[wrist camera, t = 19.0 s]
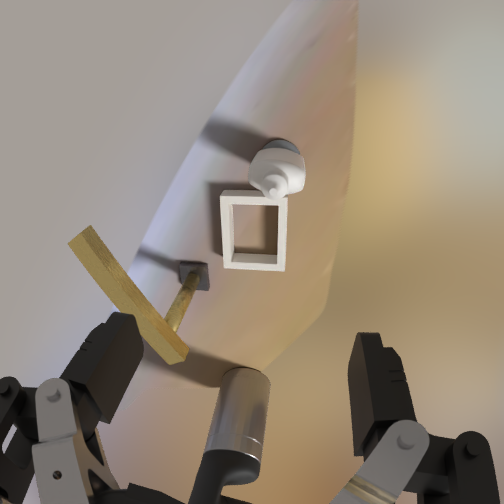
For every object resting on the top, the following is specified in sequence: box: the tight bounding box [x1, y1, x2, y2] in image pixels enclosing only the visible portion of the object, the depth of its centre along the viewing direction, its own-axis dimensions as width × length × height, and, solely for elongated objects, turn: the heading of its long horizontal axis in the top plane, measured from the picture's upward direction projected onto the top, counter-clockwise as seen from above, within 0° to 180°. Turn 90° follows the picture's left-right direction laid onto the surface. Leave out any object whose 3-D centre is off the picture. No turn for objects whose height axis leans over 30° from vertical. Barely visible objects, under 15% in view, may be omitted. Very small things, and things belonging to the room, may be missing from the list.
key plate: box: [179, 262, 210, 291], centre depth 46 cm, size 4×4×1 cm
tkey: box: [68, 225, 200, 365], centre depth 37 cm, size 18×2×14 cm, turn 31°
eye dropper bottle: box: [248, 148, 306, 200], centre depth 31 cm, size 4×6×12 cm
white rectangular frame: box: [220, 190, 288, 271], centre depth 41 cm, size 10×8×2 cm
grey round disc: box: [262, 140, 300, 155], centre depth 37 cm, size 5×5×1 cm
